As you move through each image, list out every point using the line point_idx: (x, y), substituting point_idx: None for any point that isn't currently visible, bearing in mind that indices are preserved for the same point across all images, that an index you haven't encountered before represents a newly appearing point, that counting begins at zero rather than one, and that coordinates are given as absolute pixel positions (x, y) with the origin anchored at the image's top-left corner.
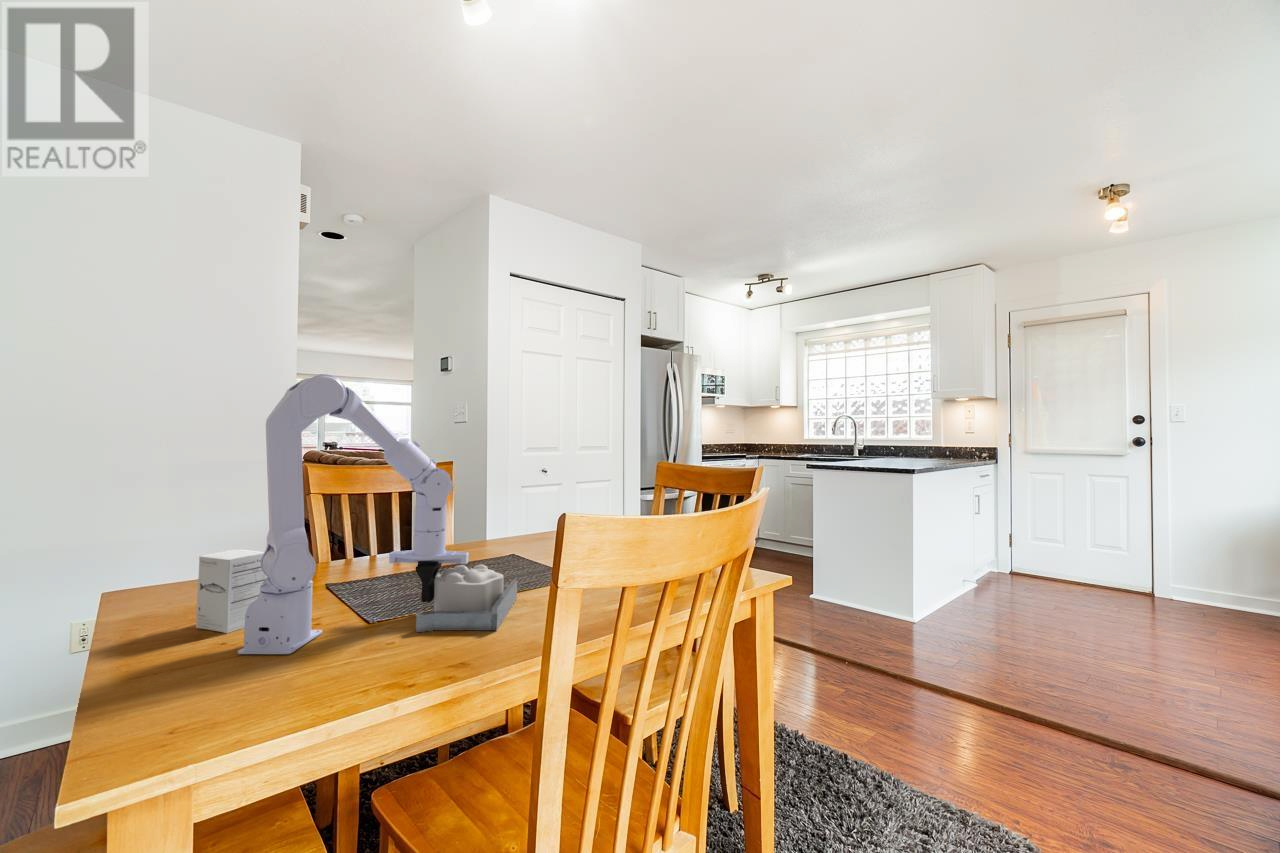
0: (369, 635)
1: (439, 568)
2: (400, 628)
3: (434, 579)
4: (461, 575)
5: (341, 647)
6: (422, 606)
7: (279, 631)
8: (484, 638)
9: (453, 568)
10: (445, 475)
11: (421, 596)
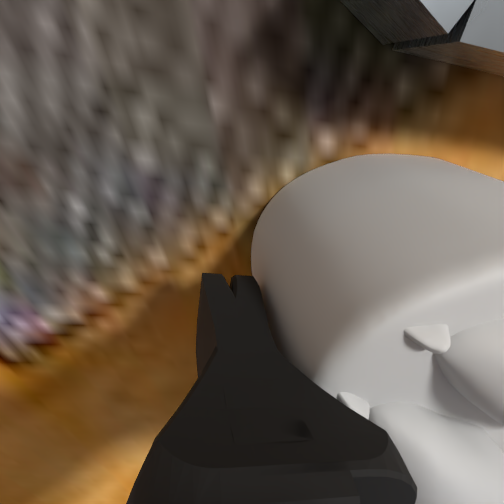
0: (87, 445)
1: (350, 415)
2: (165, 401)
3: (273, 340)
4: (499, 433)
5: (57, 499)
6: (162, 145)
7: None
8: None
9: (496, 410)
10: None
11: (197, 354)
